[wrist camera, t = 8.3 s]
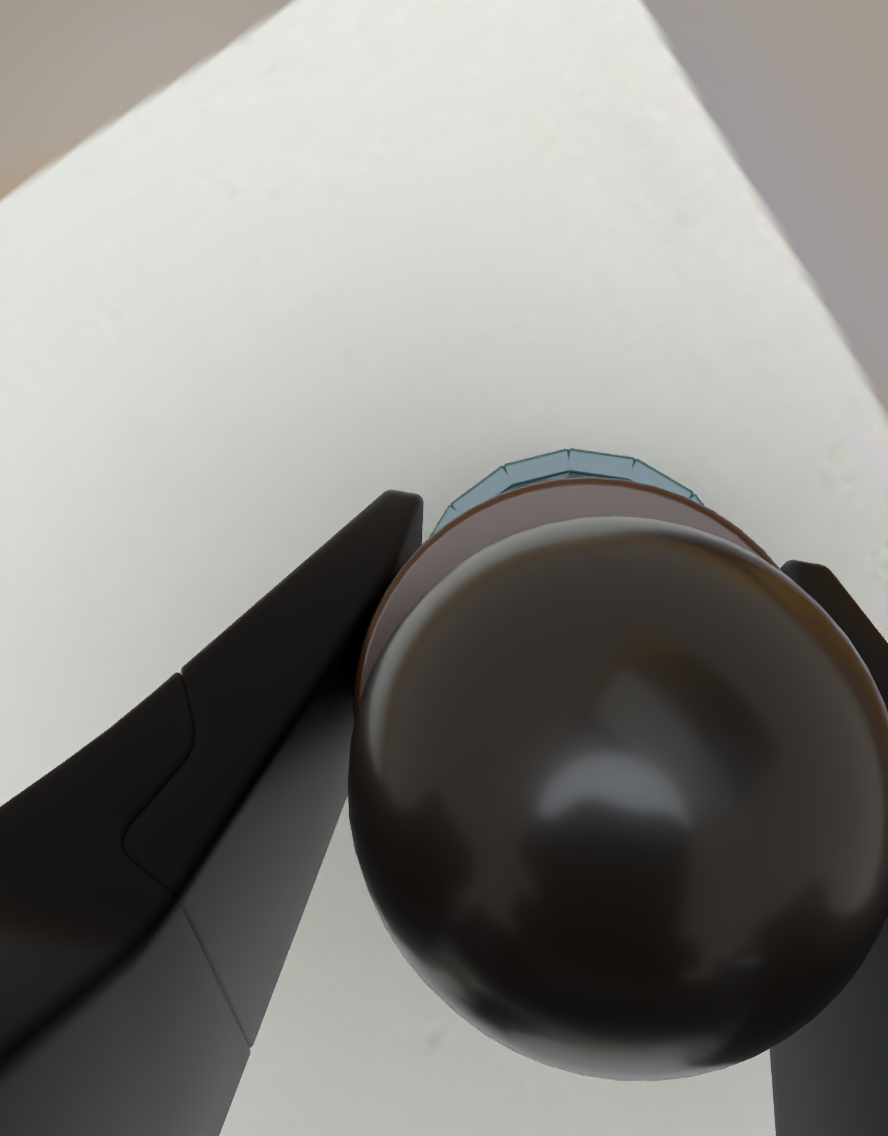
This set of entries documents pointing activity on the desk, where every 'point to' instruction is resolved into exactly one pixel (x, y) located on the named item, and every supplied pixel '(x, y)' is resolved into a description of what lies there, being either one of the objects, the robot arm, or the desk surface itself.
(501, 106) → the desk surface
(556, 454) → the cup
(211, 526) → the desk surface
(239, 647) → the robot arm
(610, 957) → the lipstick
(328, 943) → the desk surface
